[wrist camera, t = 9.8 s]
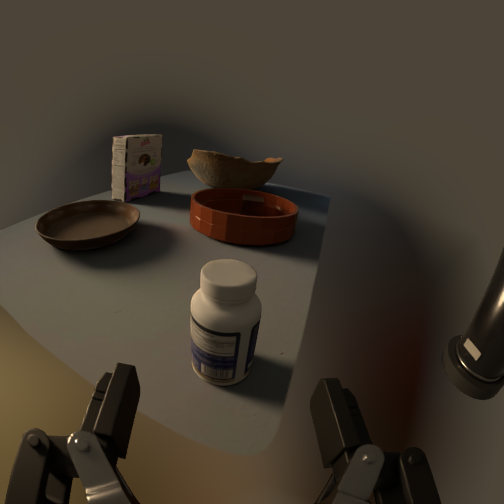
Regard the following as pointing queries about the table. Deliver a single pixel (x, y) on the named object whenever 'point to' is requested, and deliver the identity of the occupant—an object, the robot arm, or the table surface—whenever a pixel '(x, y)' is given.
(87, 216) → the plant saucer
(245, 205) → the block
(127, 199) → the candy box
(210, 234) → the bowl
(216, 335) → the pill bottle
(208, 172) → the ceramic bowl
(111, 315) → the table surface
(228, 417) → the table surface
